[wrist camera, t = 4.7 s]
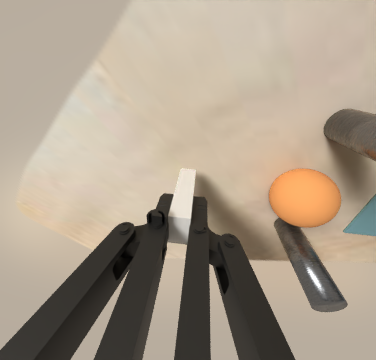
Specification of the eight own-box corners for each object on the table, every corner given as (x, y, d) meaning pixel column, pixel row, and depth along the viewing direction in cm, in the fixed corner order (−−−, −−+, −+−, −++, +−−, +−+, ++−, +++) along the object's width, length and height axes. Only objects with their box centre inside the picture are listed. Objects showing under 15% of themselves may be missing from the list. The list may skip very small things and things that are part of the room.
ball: (377, 197, 11) (294, 185, 12) (333, 245, 14) (269, 234, 15) (331, 162, 16) (273, 155, 16) (305, 204, 19) (257, 197, 19)
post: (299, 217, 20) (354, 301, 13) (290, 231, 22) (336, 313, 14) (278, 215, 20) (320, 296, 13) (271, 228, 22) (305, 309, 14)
